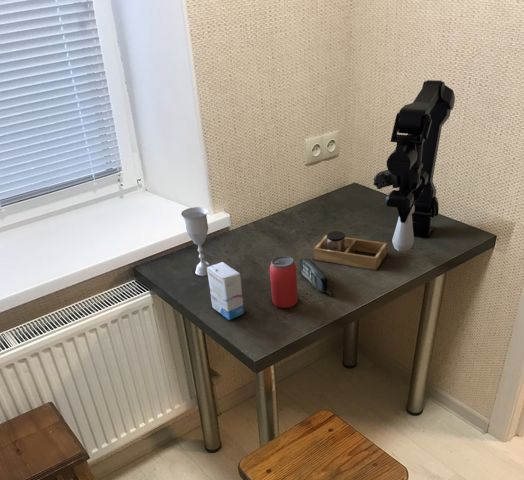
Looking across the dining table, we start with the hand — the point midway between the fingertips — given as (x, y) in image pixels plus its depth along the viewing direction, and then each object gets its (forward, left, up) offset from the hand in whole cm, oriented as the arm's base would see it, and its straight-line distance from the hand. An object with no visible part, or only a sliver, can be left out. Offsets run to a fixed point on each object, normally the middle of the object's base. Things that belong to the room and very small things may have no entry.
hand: (405, 219), depth 150 cm
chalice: (+24, -51, -13) cm, 58 cm away
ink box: (+39, -34, -13) cm, 53 cm away
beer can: (+31, -22, -13) cm, 40 cm away
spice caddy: (+3, -14, -12) cm, 19 cm away
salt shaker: (0, 0, -9) cm, 9 cm away
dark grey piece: (+20, -18, -13) cm, 29 cm away
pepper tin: (+3, -19, -12) cm, 22 cm away
